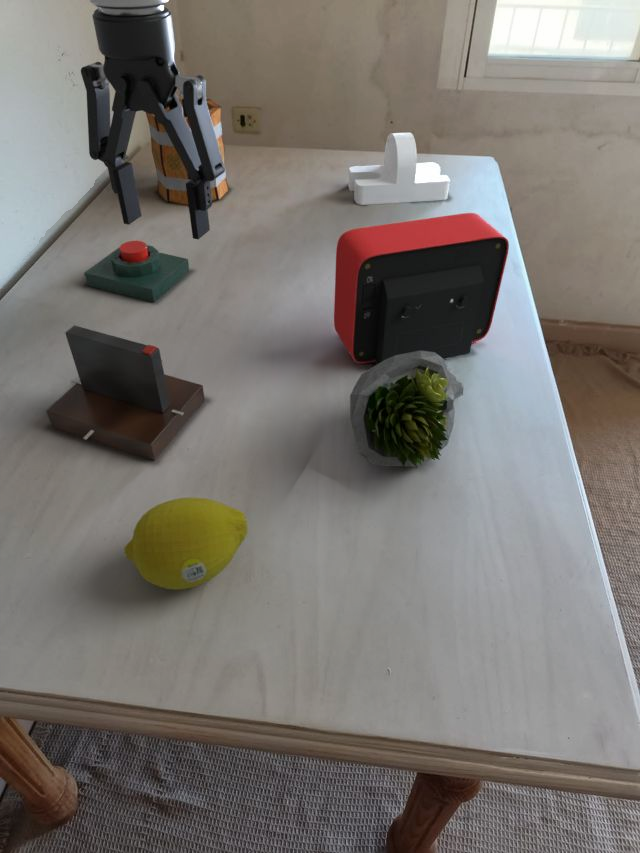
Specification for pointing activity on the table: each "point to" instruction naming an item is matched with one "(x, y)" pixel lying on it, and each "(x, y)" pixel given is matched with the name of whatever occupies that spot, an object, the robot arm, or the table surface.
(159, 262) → the button block
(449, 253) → the alarm clock
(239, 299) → the table surface
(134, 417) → the dial panel
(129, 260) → the button
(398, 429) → the potted plant
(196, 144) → the robot arm
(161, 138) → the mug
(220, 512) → the lemon
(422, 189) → the white caddy with handle
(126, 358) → the dark grey slab
